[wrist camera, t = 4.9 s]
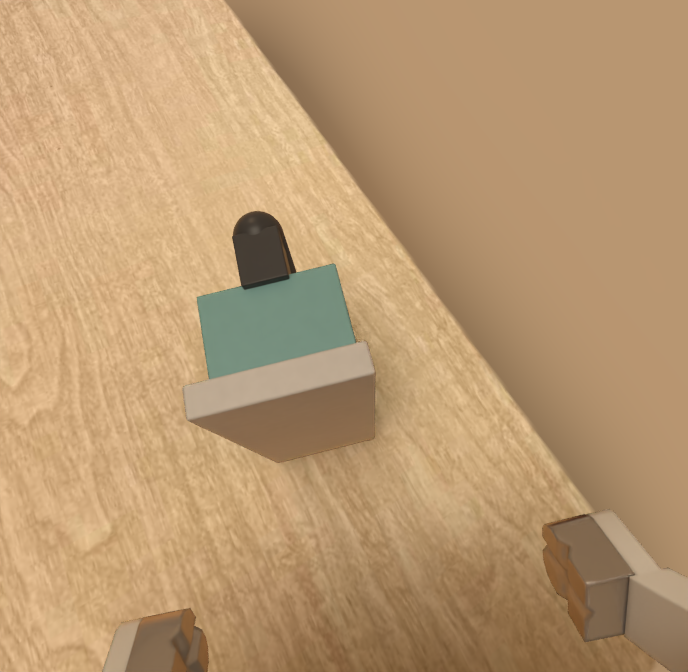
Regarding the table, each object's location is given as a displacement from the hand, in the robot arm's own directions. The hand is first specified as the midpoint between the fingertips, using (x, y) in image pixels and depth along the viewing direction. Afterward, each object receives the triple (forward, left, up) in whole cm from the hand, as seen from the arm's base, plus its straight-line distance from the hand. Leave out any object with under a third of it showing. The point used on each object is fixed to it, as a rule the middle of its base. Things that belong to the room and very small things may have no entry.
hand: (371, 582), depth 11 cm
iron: (+8, -1, -13) cm, 15 cm away
